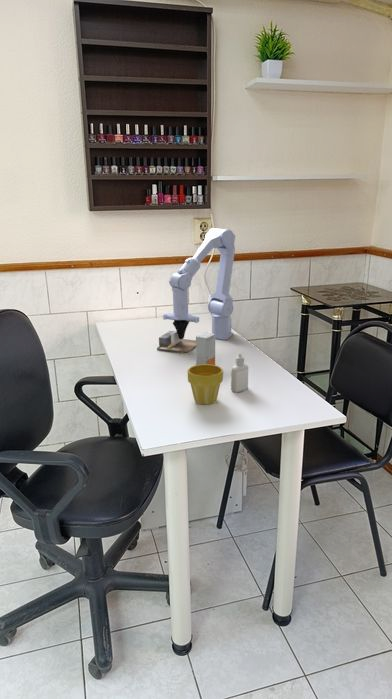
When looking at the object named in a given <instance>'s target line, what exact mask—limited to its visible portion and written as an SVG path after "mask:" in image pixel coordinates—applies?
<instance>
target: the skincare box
mask: <svg viewBox="0 0 392 699" xmlns="http://www.w3.org/2000/svg"><path fill="white" fill-rule="evenodd" d="M195 340H196V348H195V365H200V364H211V365H216V338H215V334H212V332H204V333H200V334H199V335H196V336H195Z"/></svg>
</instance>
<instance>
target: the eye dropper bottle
mask: <svg viewBox="0 0 392 699" xmlns="http://www.w3.org/2000/svg"><path fill="white" fill-rule="evenodd" d="M230 372H231V374H230V383H231V384H230V390H231V392H233V393H242V392H245V391H246V390H248V388H249V366H248V365H247V364H246V363H245V357H244V356H242V353H241V352H239V353H238V356H236V357H235V364H234V365H233V366H232V367H231V371H230Z"/></svg>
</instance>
